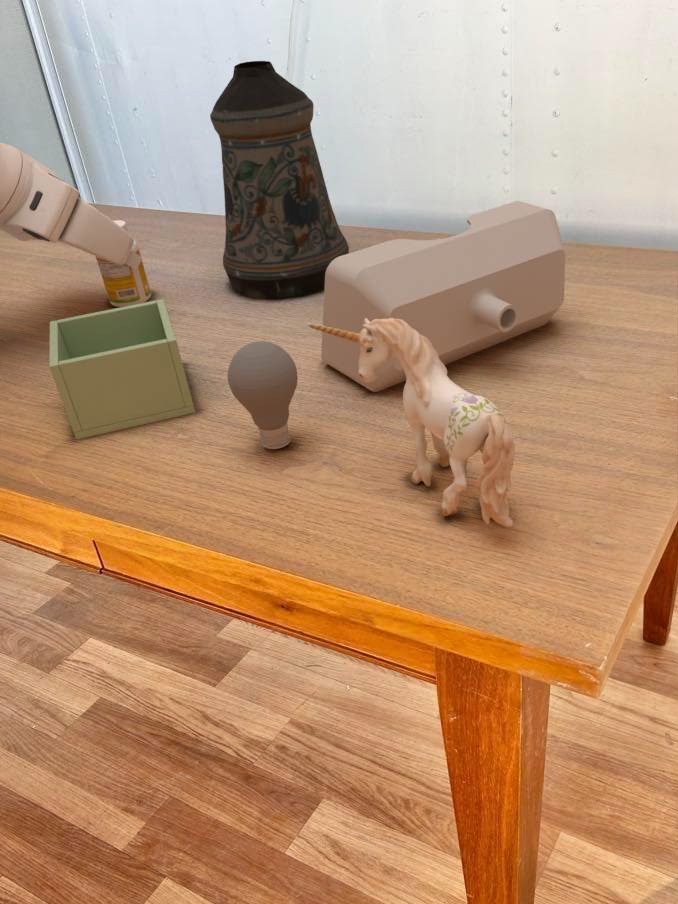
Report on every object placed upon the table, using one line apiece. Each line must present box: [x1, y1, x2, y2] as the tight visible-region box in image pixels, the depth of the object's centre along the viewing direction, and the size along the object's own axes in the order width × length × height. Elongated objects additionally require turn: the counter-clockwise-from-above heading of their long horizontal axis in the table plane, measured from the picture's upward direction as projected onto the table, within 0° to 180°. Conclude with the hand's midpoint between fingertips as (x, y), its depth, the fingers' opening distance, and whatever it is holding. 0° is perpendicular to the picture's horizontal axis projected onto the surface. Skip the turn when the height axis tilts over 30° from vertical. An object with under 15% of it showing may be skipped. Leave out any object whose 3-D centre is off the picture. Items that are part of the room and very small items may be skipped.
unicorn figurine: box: [306, 318, 516, 528], centre depth 66 cm, size 7×20×13 cm, turn 46°
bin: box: [48, 298, 196, 440], centre depth 85 cm, size 12×12×8 cm
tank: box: [320, 200, 566, 393], centre depth 86 cm, size 25×16×12 cm, turn 125°
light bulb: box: [227, 341, 298, 450], centre depth 75 cm, size 6×6×10 cm
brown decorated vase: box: [209, 60, 350, 301], centre depth 106 cm, size 16×19×25 cm
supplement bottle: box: [95, 219, 152, 308], centre depth 108 cm, size 5×5×10 cm
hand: (124, 257), depth 108 cm, fingers closed on supplement bottle, 5 cm apart
